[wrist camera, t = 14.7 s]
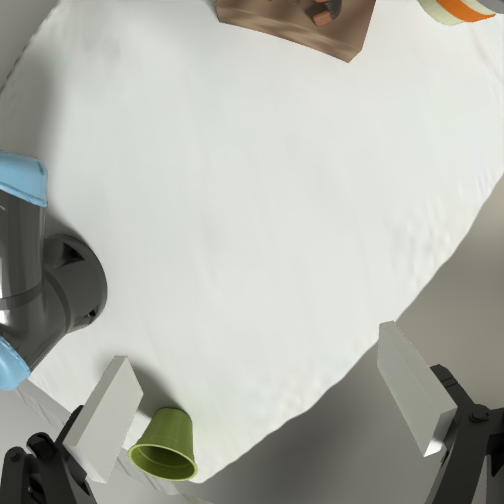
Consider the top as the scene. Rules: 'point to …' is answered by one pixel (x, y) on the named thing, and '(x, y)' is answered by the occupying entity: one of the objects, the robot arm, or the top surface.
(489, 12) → the reusable coffee cup
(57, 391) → the top surface
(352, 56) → the walnut box
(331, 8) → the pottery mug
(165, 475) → the plant pot
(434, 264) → the top surface
